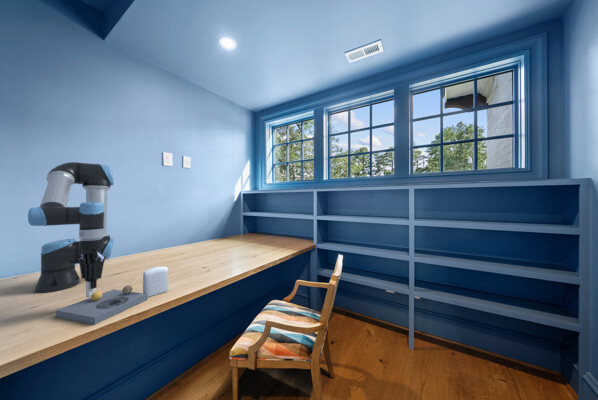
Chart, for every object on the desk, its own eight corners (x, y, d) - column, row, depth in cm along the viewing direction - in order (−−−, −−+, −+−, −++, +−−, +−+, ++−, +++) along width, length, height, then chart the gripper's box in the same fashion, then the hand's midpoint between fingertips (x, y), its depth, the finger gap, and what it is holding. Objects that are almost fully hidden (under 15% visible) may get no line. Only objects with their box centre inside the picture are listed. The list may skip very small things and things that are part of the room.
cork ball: (120, 294, 95) (120, 286, 95) (128, 291, 98) (128, 283, 98) (126, 295, 94) (126, 287, 94) (134, 292, 97) (134, 284, 97)
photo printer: (144, 298, 97) (144, 271, 97) (141, 296, 99) (141, 269, 99) (169, 291, 104) (170, 265, 105) (166, 289, 107) (166, 264, 107)
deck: (55, 316, 81) (55, 310, 81) (113, 294, 101) (113, 289, 101) (94, 324, 76) (94, 317, 76) (147, 299, 96) (147, 294, 96)
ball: (87, 294, 88) (93, 292, 88) (97, 291, 92) (103, 288, 91) (90, 303, 88) (95, 300, 87) (100, 299, 92) (105, 296, 91)
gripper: (69, 240, 88) (68, 298, 88) (92, 241, 85) (91, 301, 85) (91, 237, 96) (90, 290, 95) (113, 238, 92) (112, 294, 92)
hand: (91, 295), depth 90 cm, fingers closed
